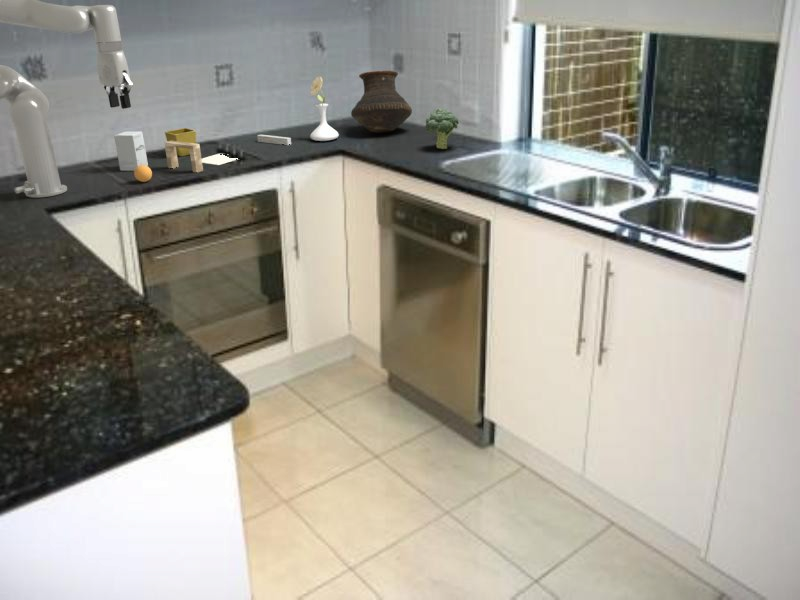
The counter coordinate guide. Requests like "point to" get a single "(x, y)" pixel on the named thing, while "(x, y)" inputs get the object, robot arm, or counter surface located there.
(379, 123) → the ceramic pot
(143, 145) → the supplement box
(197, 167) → the bridge
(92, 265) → the counter surface
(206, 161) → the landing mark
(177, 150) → the flower pot
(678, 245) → the counter surface
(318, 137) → the flower in vase
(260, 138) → the wall
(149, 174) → the ball
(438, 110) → the vegetable
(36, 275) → the counter surface
